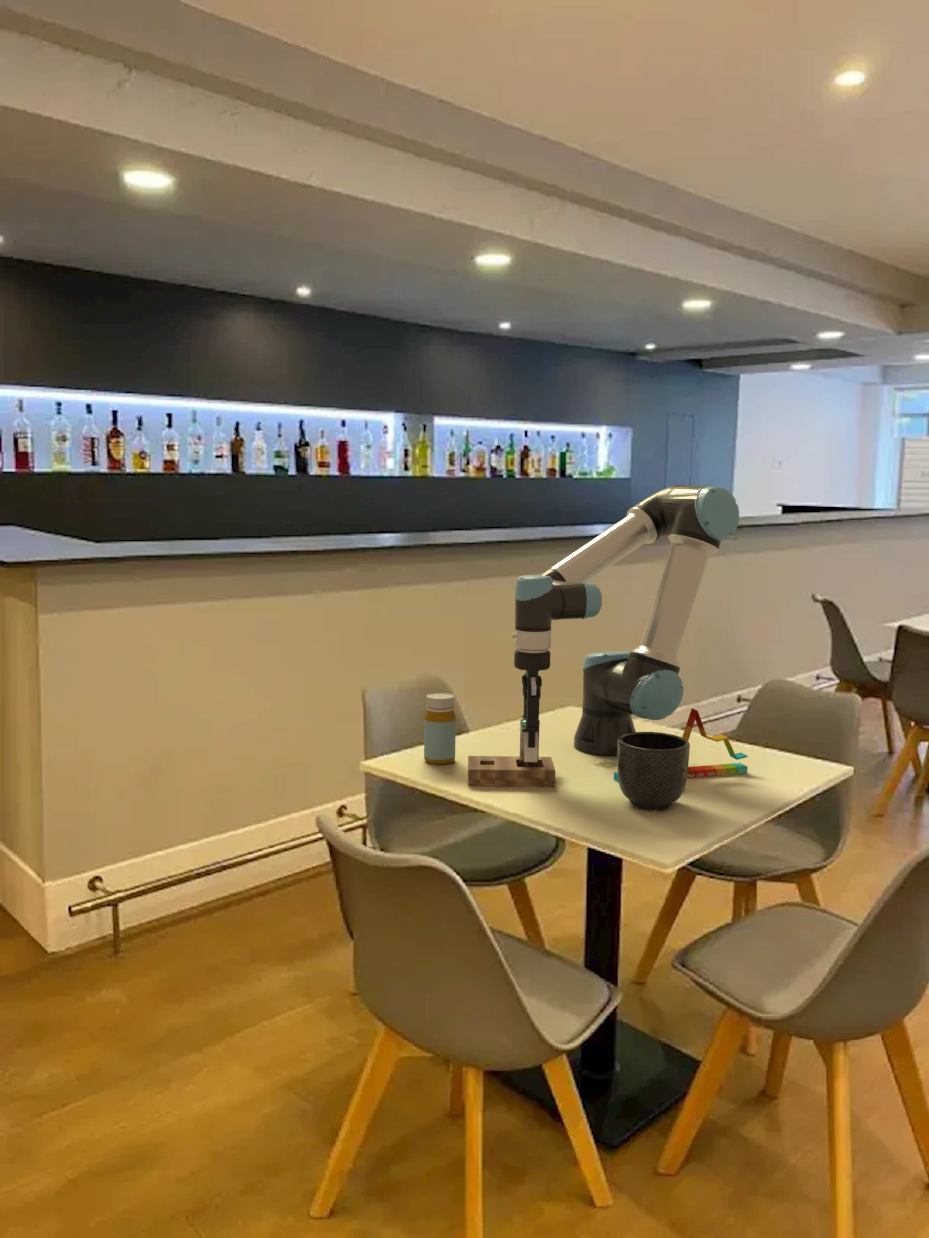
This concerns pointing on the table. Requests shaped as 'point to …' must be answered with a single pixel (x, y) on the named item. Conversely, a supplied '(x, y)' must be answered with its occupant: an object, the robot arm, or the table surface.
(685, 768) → the planter
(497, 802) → the table surface
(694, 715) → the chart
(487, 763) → the socket block
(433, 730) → the bottle
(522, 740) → the clear spice jar
